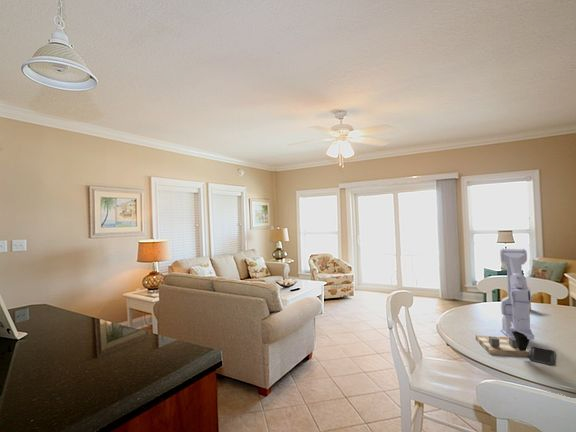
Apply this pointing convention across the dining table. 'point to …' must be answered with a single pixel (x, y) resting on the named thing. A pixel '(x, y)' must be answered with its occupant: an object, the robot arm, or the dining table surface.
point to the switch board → (503, 348)
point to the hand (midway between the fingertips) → (522, 350)
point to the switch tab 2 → (513, 342)
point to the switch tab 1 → (494, 341)
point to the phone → (542, 356)
